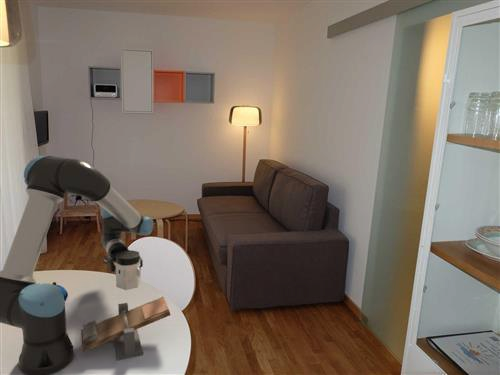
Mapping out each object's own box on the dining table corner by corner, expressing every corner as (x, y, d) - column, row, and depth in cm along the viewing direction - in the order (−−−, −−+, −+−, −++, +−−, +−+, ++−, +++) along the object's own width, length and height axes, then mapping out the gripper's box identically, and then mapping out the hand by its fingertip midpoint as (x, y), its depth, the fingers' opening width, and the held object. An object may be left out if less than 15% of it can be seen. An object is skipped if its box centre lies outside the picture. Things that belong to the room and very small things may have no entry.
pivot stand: (116, 360, 126) (115, 335, 124) (111, 328, 142) (110, 305, 140) (143, 355, 129) (142, 330, 127) (135, 323, 145) (134, 301, 143)
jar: (119, 292, 145) (118, 260, 142) (113, 282, 151) (112, 252, 149) (144, 286, 150) (143, 256, 147) (137, 277, 156) (136, 248, 153)
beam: (84, 354, 124) (79, 345, 123) (82, 331, 136) (79, 322, 135) (171, 317, 133) (168, 308, 132) (163, 298, 145) (160, 289, 143)
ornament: (59, 313, 150) (57, 289, 147) (38, 310, 151) (36, 286, 149) (73, 302, 158) (71, 278, 155) (52, 299, 159) (51, 275, 157)
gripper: (139, 256, 169) (156, 279, 150) (95, 263, 161) (107, 288, 141) (138, 239, 168) (156, 260, 148) (94, 245, 159) (107, 268, 139)
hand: (132, 274), depth 145 cm, fingers closed on jar, 4 cm apart
